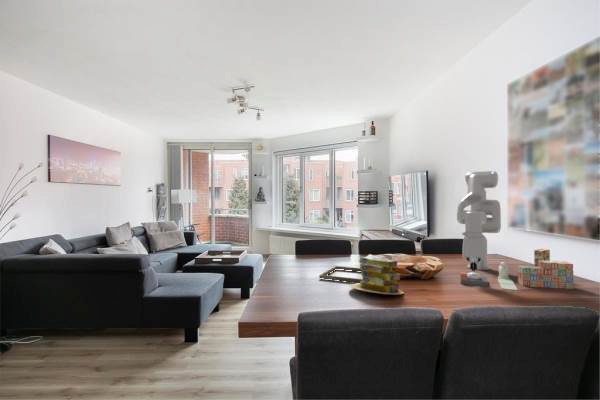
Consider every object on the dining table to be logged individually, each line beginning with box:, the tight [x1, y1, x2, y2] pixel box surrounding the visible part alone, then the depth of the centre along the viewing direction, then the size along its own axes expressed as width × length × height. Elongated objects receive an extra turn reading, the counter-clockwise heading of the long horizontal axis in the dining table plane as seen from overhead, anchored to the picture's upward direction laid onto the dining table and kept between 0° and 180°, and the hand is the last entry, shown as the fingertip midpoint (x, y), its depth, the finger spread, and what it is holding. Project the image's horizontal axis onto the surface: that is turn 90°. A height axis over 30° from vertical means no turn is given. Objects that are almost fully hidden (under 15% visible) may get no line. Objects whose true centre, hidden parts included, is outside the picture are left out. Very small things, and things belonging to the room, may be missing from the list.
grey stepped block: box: [460, 271, 489, 287], centre depth 171 cm, size 12×12×6 cm
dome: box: [466, 271, 482, 280], centre depth 171 cm, size 6×6×3 cm
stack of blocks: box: [517, 260, 574, 290], centre depth 163 cm, size 21×6×12 cm, turn 76°
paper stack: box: [348, 254, 404, 295], centre depth 154 cm, size 25×25×17 cm
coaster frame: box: [318, 265, 363, 283], centre depth 185 cm, size 26×26×2 cm
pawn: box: [497, 261, 510, 279], centre depth 179 cm, size 5×5×9 cm
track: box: [497, 277, 519, 292], centre depth 166 cm, size 21×6×1 cm, turn 154°
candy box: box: [533, 248, 551, 266], centre depth 179 cm, size 9×4×15 cm, turn 121°
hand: (473, 270), depth 171 cm, fingers closed
